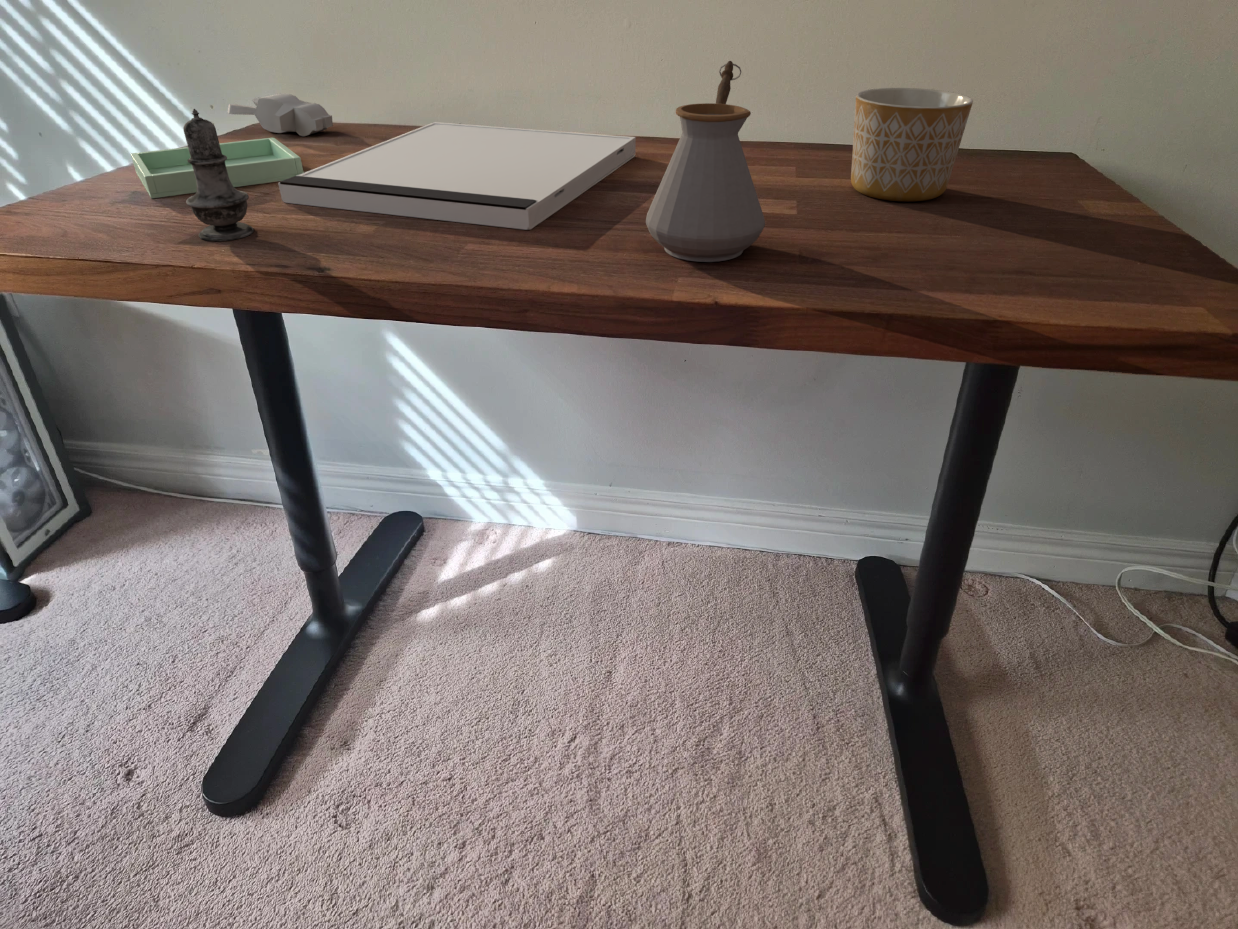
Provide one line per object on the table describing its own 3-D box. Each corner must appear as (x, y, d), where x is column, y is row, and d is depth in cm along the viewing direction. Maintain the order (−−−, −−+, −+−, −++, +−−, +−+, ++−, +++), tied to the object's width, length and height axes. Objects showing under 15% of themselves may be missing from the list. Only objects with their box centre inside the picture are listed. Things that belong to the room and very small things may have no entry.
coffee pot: (757, 273, 76) (774, 96, 68) (634, 264, 78) (636, 91, 70) (772, 208, 93) (787, 61, 85) (671, 202, 95) (676, 58, 87)
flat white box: (527, 206, 85) (277, 180, 94) (529, 230, 87) (282, 202, 95) (635, 136, 113) (434, 121, 121) (635, 155, 114) (436, 139, 123)
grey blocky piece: (301, 111, 120) (217, 92, 123) (305, 148, 122) (223, 127, 126) (342, 100, 127) (262, 82, 131) (345, 135, 130) (266, 116, 133)
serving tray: (151, 198, 96) (144, 176, 95) (136, 173, 106) (130, 153, 105) (304, 177, 104) (300, 157, 103) (278, 156, 114) (273, 137, 113)
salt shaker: (268, 230, 86) (240, 107, 80) (218, 245, 82) (183, 116, 76) (234, 221, 89) (204, 100, 83) (183, 235, 85) (147, 110, 79)
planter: (964, 186, 101) (985, 93, 95) (935, 212, 92) (955, 111, 86) (863, 172, 107) (877, 84, 101) (826, 194, 98) (839, 99, 92)
